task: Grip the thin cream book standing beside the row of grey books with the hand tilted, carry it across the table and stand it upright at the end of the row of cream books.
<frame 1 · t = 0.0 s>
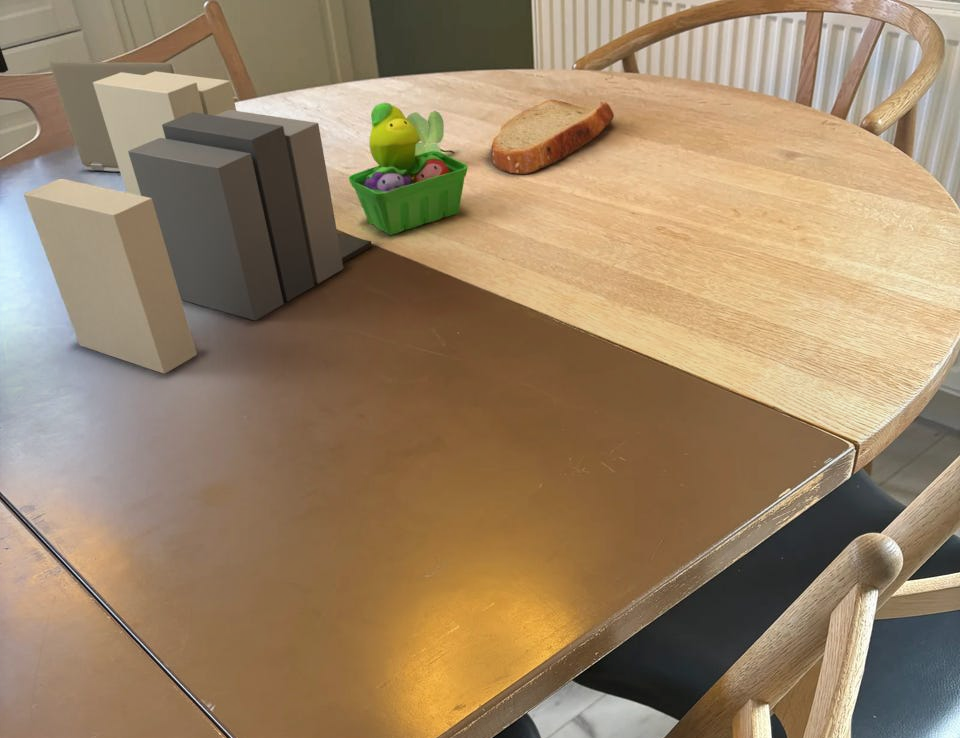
fruit basket: (411, 218, 113), on the table
grey books: (258, 283, 103), on the table
white books: (183, 225, 117), on the table
white book: (137, 350, 94), on the table
bread slice: (554, 146, 128), on the table
laptop: (167, 159, 136), on the table
seedling: (437, 166, 126), on the table
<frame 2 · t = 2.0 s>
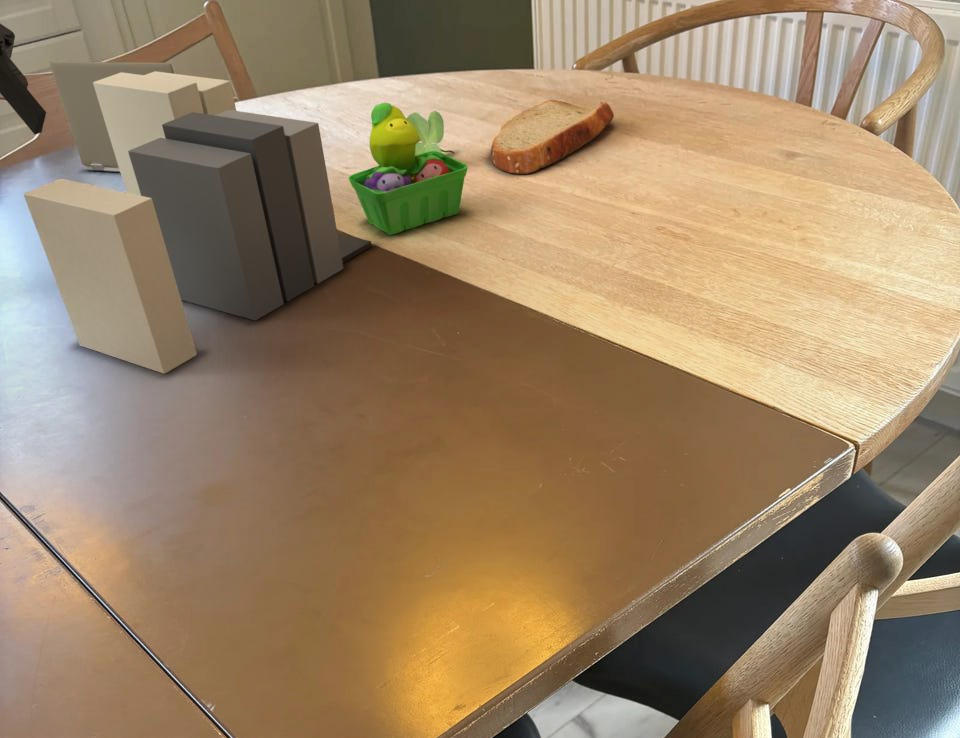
nothing on the table moved.
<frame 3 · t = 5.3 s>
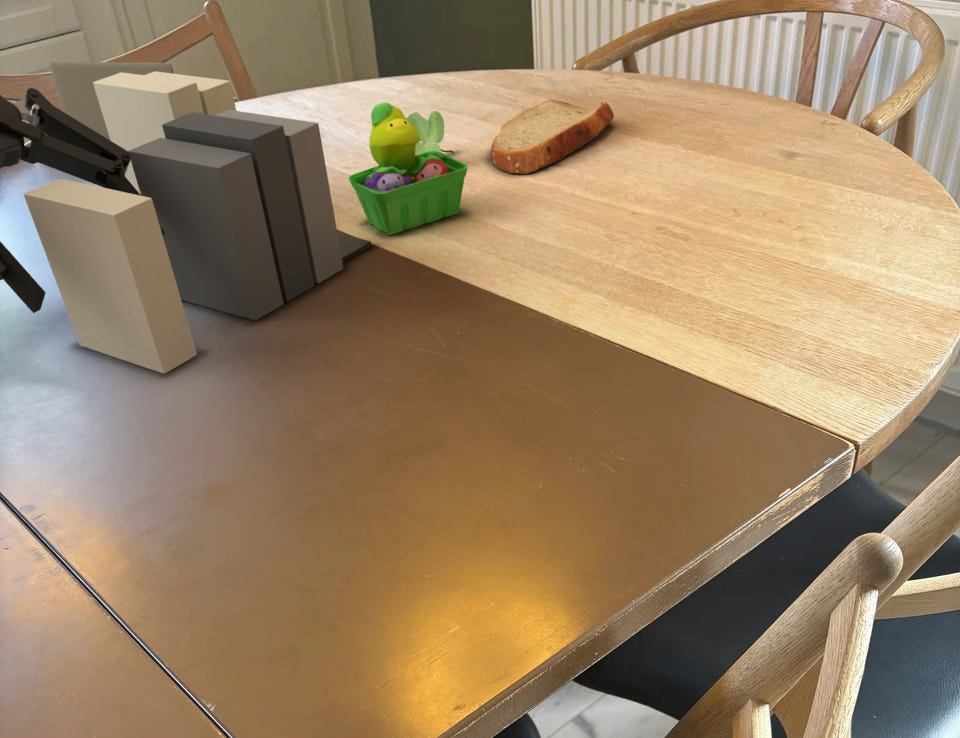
hand: (101, 272, 91), 7 cm above the table, tool tilted 45°, fingers open, 13 cm apart
nothing on the table moved.
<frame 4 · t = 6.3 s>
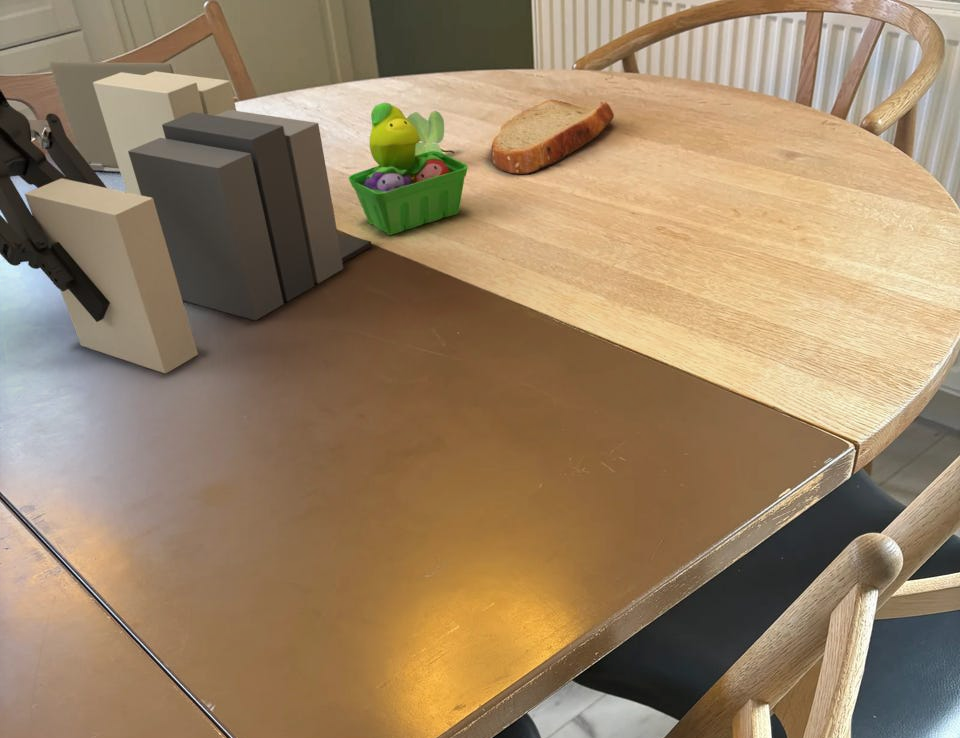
hand: (123, 301, 91), 5 cm above the table, tool tilted 45°, fingers closed on white book, 4 cm apart
white book: (138, 350, 94), on the table, touching gripper
everything else where it was.
when the fingers open (5 cm above the table, at t = 18.0 s): white book stays where it is, on the table.
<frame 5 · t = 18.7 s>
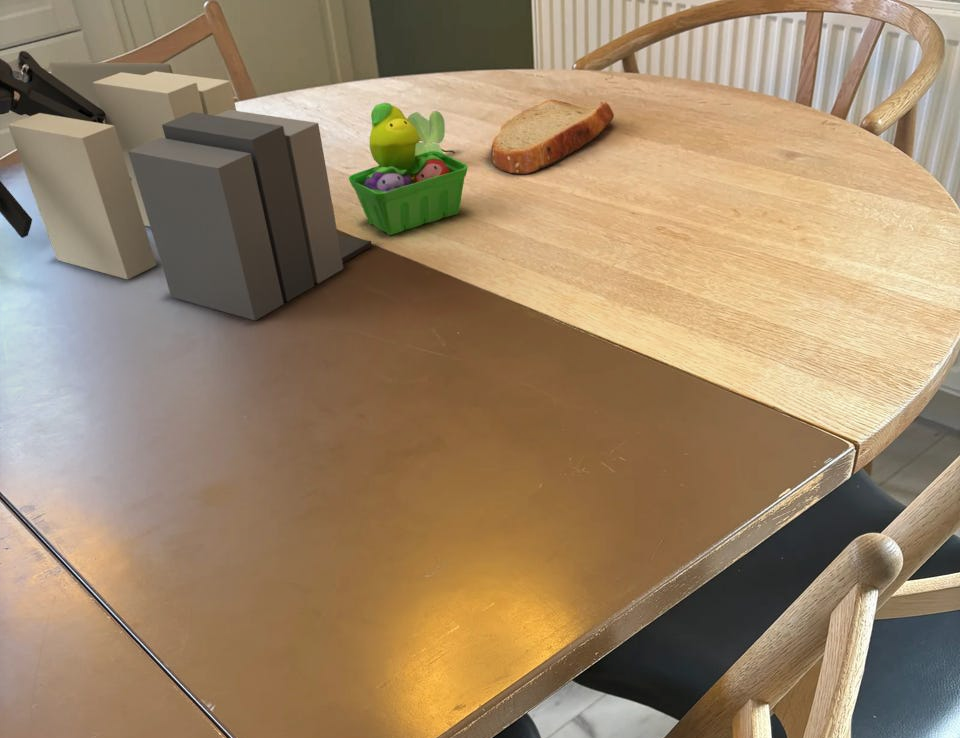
hand: (78, 208, 107), 6 cm above the table, tool tilted 45°, fingers open, 12 cm apart
white book: (106, 262, 110), on the table
everything else where it was.
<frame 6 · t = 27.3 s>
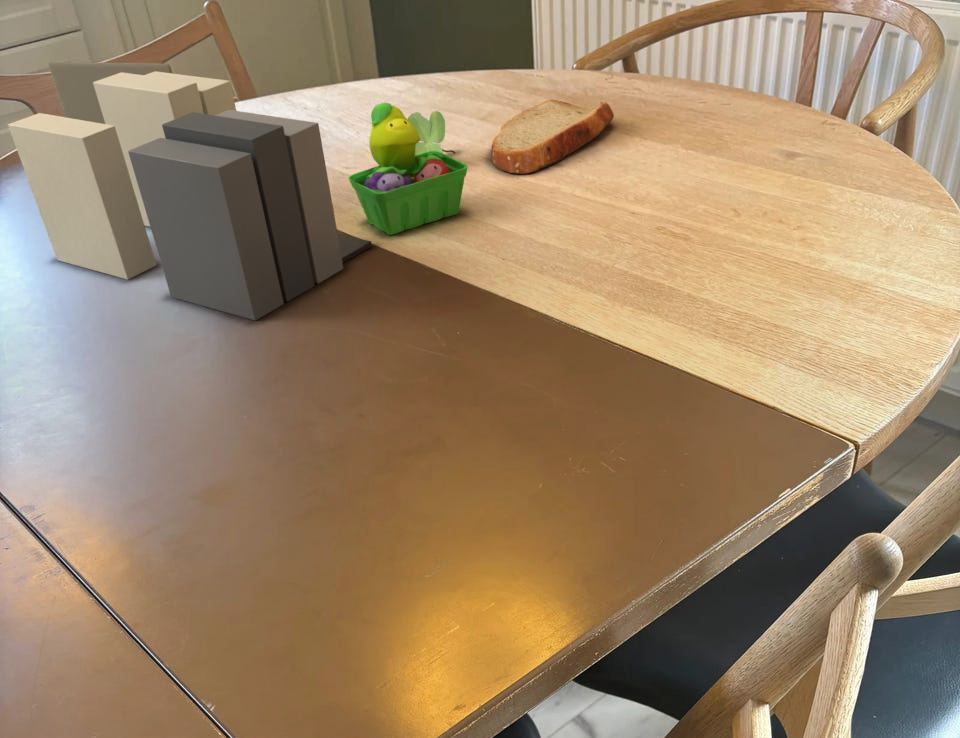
nothing on the table moved.
at the end: white book inside the target area on the white books (0.2 cm from its centre), point 0.0 cm above the white books's base; white book tilted 0°; the gripper is holding nothing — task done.
